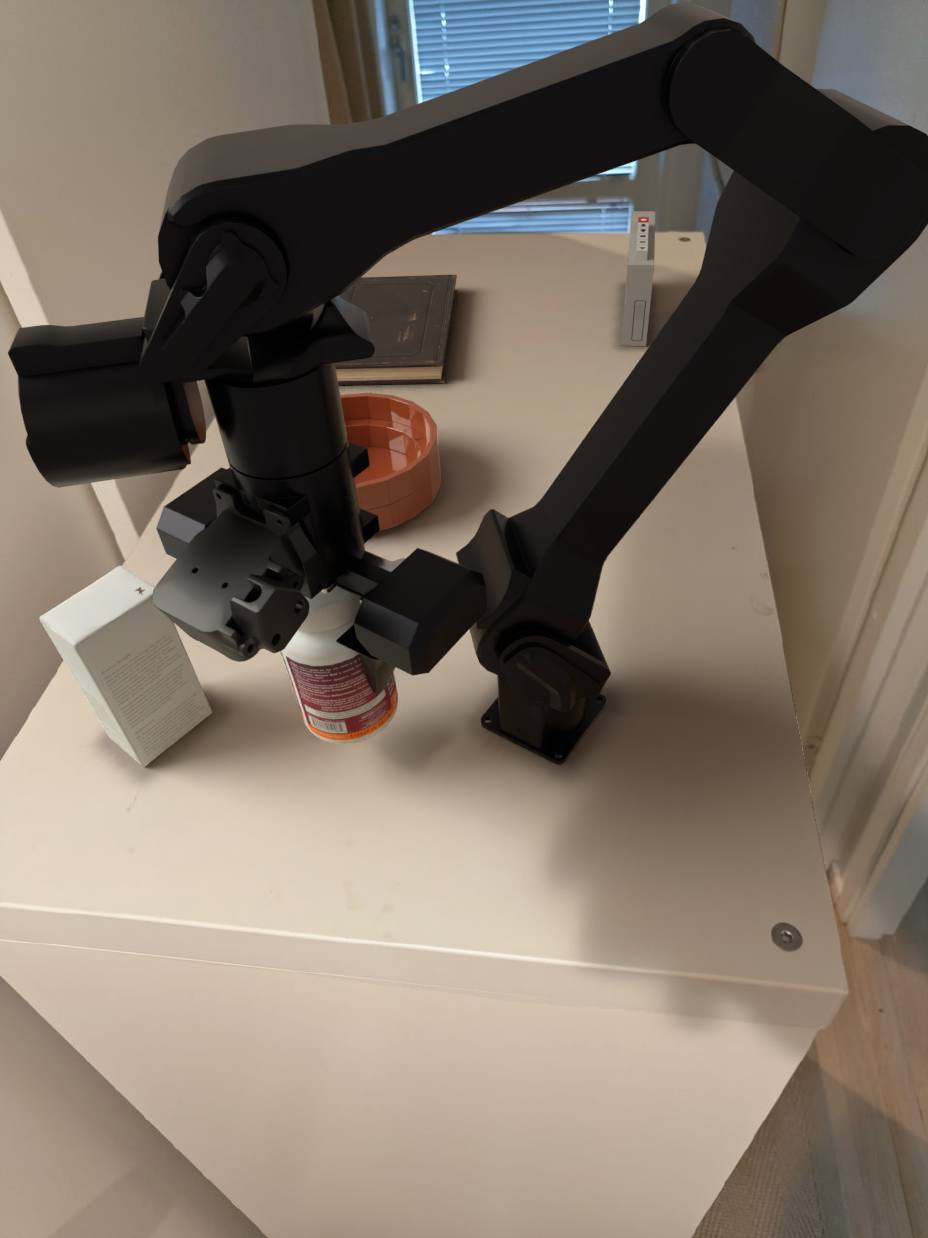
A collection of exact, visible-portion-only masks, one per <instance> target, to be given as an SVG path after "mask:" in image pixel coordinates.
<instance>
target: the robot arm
mask: <svg viewBox="0 0 928 1238" xmlns="http://www.w3.org/2000/svg"><path fill="white" fill-rule="evenodd" d="M685 145H696V146H698V147H700V148H702V149H703V150H704V151H706V152H707V153H709V154H710V155H711V156H713V157H714V158H716V160H719V161H720V162H721V163H723V164H724V165H726V166H727V167H728V168H729V169H731V170H732V173H731V175H730V176H729V179H728V181H727V182H726V184H725V187H724V188H723V191H722V193H721V195H720V196H719V198H718V200H717V203H716V206H715V209H714V214H713V217H712V221H711V226H710V229H709V234H708V239H707V243H706V247H705V250H704V256H703V259H702V262H701V263H702V264H701V267H700V269H699V273H698V275H697V277H696V279H695V280H694V282H693V283H692V285H691V287H690V288H689V290H688V291H687V292H686V293H685V295H684V296H683V298H682V300H681V301H680V302H679V304H678V305H677V306H676V308H675V309H674V311H673V312H672V314H671V315H670V316H669V318H668V319H667V320H666V322H665V324H664V325H663V326H662V328H661V329H660V331H659V332H658V333H657V334H656V336H655V337H654V339H653V341H652V342H651V343H650V345H649V346H648V348H647V349H646V350H645V352H644V353H643V355H642V356H641V358H639V360H638V361H637V363H636V364H635V366H634V367H633V369H632V370H631V372H630V373H629V374H628V375H627V377H626V379H625V381H623V383H622V384H621V385H620V387H619V389H618V390H617V391H616V393H615V394H614V396H613V397H612V398H611V400H610V401H609V402H608V404H607V405H606V407H605V408H604V410H603V411H602V412H601V414H599V417H598V418H597V420H596V421H595V422H594V424H593V425H592V427H591V428H590V429H589V431H588V432H587V434H586V435H585V436H584V438H583V439H582V441H581V442H580V444H579V445H578V446H577V448H576V449H575V451H574V452H573V454H572V455H571V456H570V458H569V459H568V461H567V462H566V463H565V464H564V466H563V468H562V469H561V470H560V472H559V473H558V475H557V476H556V477H555V478H554V480H553V482H552V483H551V485H550V486H549V487H548V489H547V490H546V491H545V493H544V494H543V495H542V497H541V498H540V499H539V500H538V502H537V503H536V504H535V505H534V506H531V507H529V508H527V509H525V510H523V511H520V512H517V513H516V514H513V515H511V516H509V517H508V516H506V515H505V514H503V513H501V512H500V511H498V510H496V509H494V508H490V509H489V510H488V511H486V513H485V514H484V515H483V517H482V519H481V522H480V524H479V526H478V528H477V531H476V532H475V533H474V535H473V537H472V538H471V539H470V540H469V542H468V543H466V545H464V546H463V547H462V548H460V549H459V550H458V551H457V552H455V556H456V559H457V562H456V561H454V560H451V559H449V558H446V557H445V556H441V555H438V554H436V553H434V552H432V551H428V550H425V549H422V548H419V547H416V548H415V549H414V550H413V551H412V552H411V553H410V554H409V555H408V556H407V557H406V558H405V557H401V558H398V559H395V560H389V559H386V558H384V557H382V556H379V555H377V554H375V553H372V552H370V551H369V550H368V551H367V550H366V547H365V545H366V543H367V542H369V541H370V540H371V539H372V538H374V536H375V535H377V534H378V533H379V532H380V526H379V520H378V515H376V514H373V513H371V512H368V511H366V510H363V509H361V508H360V507H359V501H358V496H357V490H356V484H355V477H356V476H357V475H359V474H360V473H361V472H363V471H364V470H365V469H366V468H368V467H369V466H370V462H369V455H368V449H367V448H365V447H362V446H359V445H356V444H354V443H351V442H348V438H347V432H346V426H345V420H344V415H343V409H342V403H341V397H340V395H341V393H340V385H338V380H337V374H336V368H335V363H340V362H347V361H354V360H361V359H368V358H371V357H372V356H373V355H374V353H375V345H374V341H373V336H372V332H371V328H370V324H369V319H368V316H367V313H366V312H365V311H363V310H362V309H360V308H358V307H356V306H354V305H353V304H351V303H349V302H347V301H345V300H343V299H342V298H341V297H340V296H339V295H340V294H342V293H343V292H345V291H346V290H347V289H348V288H350V287H351V286H352V285H353V284H354V283H355V282H356V281H357V280H359V279H360V278H362V277H363V276H364V275H366V274H367V273H368V272H369V271H370V270H371V269H372V268H374V267H375V266H376V265H377V264H379V262H380V261H382V260H383V259H384V258H385V257H386V256H388V255H389V254H391V253H393V252H395V251H397V250H398V249H400V248H401V247H404V246H405V245H407V244H409V243H410V242H412V241H414V240H418V239H419V238H422V237H425V236H428V235H431V234H434V233H437V232H439V231H442V230H445V229H448V228H451V227H454V226H456V225H459V224H462V223H465V222H469V221H471V220H473V219H476V218H480V217H481V216H484V215H488V214H490V213H493V212H497V211H498V210H501V209H504V208H508V207H511V206H512V205H516V204H518V203H521V202H524V201H527V200H530V199H533V198H535V197H538V196H541V195H544V194H546V193H549V192H552V191H555V190H558V189H561V188H563V187H567V186H569V185H572V184H575V183H578V182H580V181H583V180H586V179H588V178H589V179H590V178H592V177H595V176H598V175H600V174H603V173H606V172H609V171H612V170H616V168H620V167H623V166H625V165H629V164H631V163H634V162H637V161H639V160H642V159H643V160H644V159H645V158H648V157H651V156H654V155H656V154H657V155H658V154H659V153H662V152H665V151H669V150H671V149H673V148H677V147H679V146H685ZM176 163H177V164H176V166H175V167H174V168H173V172H172V174H171V177H170V181H169V184H168V188H167V191H166V196H165V200H164V206H163V210H162V215H161V219H160V224H159V229H158V234H157V251H158V252H157V255H158V264H159V266H160V269H161V271H160V274H159V275H158V279H152V280H151V282H150V286H149V290H148V295H147V301H146V306H145V310H144V315H143V316H139V317H131V318H124V319H123V318H122V319H117V320H108V321H101V322H100V321H99V322H92V323H87V324H86V323H84V324H77V325H56V324H40V325H32V326H31V325H30V326H23V327H19V328H18V329H17V331H16V333H15V335H14V337H13V340H12V342H11V344H10V347H9V348H8V351H7V355H8V357H9V360H10V361H11V364H12V366H13V368H14V370H15V373H16V375H17V391H18V392H17V394H18V400H19V408H20V413H21V417H22V421H23V424H24V425H23V426H24V429H25V431H26V434H27V435H26V438H25V446H26V449H27V451H28V454H29V457H30V458H31V460H32V462H33V464H34V466H35V468H36V469H37V471H38V473H39V474H40V475H41V476H42V478H43V479H44V481H45V482H47V483H48V484H49V485H51V486H52V487H54V488H65V487H73V486H78V485H84V484H85V485H86V484H92V483H93V484H94V483H98V482H99V483H100V482H107V481H113V480H119V479H126V478H134V477H141V476H146V475H147V476H148V475H154V474H161V473H167V472H174V471H181V470H185V469H186V468H187V466H189V465H191V464H192V459H191V458H192V457H191V452H190V448H189V444H190V445H192V446H195V445H202V444H203V445H204V444H205V443H206V442H207V426H206V425H207V424H206V417H205V411H204V406H203V405H204V404H203V400H202V397H201V396H202V395H201V391H200V388H199V385H198V382H199V381H204V383H205V387H206V391H207V395H208V397H209V401H210V404H211V408H212V411H213V415H214V418H215V421H216V424H217V427H218V431H219V434H220V438H221V441H222V445H223V448H224V452H225V456H226V458H227V462H228V465H229V468H225V467H223V466H222V467H219V468H218V469H217V470H215V471H214V472H212V473H210V475H207V477H205V478H203V479H202V480H200V481H199V482H198V483H195V485H193V486H192V487H191V488H188V489H187V490H186V491H184V492H183V493H182V494H180V495H179V496H177V497H176V498H174V499H172V500H171V501H170V502H168V503H167V504H165V505H163V508H162V511H161V514H160V517H159V520H158V522H157V524H156V528H155V529H156V532H157V534H158V537H159V539H160V542H161V544H162V547H163V550H164V552H165V554H166V555H167V556H170V557H172V558H174V559H175V561H174V562H173V563H172V564H171V566H170V567H169V568H168V569H167V571H166V572H165V573H164V574H163V576H162V577H161V579H159V581H158V582H157V583H156V585H155V586H154V587H155V588H154V590H153V594H152V601H153V604H154V605H155V607H156V608H158V609H159V610H160V611H161V612H162V613H163V614H164V615H166V616H167V617H168V618H169V619H170V620H171V621H173V622H174V624H175V626H176V627H178V628H179V629H181V631H183V632H184V633H185V634H186V635H187V636H189V637H190V638H191V639H193V640H195V641H198V642H199V643H200V644H201V643H202V644H204V645H205V646H207V647H209V648H210V649H212V650H214V651H216V652H218V653H220V654H221V655H223V656H224V657H226V658H228V659H229V660H231V661H233V662H236V663H237V662H239V663H241V662H246V661H249V660H251V659H253V658H254V657H255V656H257V654H258V653H259V652H260V651H261V650H266V651H268V652H270V653H272V654H277V653H280V651H282V650H283V649H285V648H286V646H287V645H288V643H289V642H290V641H291V639H292V638H293V636H294V635H295V633H296V632H297V631H298V629H299V628H300V626H301V625H302V623H303V622H304V621H305V619H306V618H307V616H308V614H309V601H308V600H307V599H306V598H305V597H307V598H310V599H313V598H314V597H315V596H316V595H317V594H318V593H319V592H322V593H329V592H331V591H332V590H333V589H334V588H335V587H336V586H337V587H340V588H342V589H344V590H346V591H348V592H351V593H353V594H355V595H357V596H359V597H361V598H360V599H359V600H360V607H359V610H358V613H357V615H356V618H355V621H354V624H353V625H352V626H351V627H350V628H349V629H348V630H347V631H346V632H345V633H344V634H342V635H341V636H340V637H339V638H338V639H337V640H336V642H337V643H339V644H341V645H343V646H345V647H347V648H349V649H351V650H353V651H355V652H357V653H359V655H360V658H361V662H362V665H363V668H364V672H365V675H366V678H367V681H368V683H369V685H370V688H371V690H372V692H374V693H376V694H379V693H380V692H381V691H382V690H383V689H384V688H385V687H386V686H387V685H388V683H389V681H390V679H391V677H392V674H393V672H395V670H396V668H397V669H398V670H400V671H403V672H405V673H406V674H408V675H410V676H418V675H424V674H429V673H430V672H431V671H432V670H433V669H434V668H435V667H436V666H437V665H438V664H439V663H440V661H441V660H442V659H443V658H444V657H445V656H447V654H448V653H449V652H450V651H451V650H452V649H453V647H455V645H456V644H457V643H458V642H459V641H460V640H461V639H462V638H463V637H464V636H465V635H466V633H468V631H469V634H470V638H471V642H472V645H473V648H474V652H475V655H476V658H477V660H478V663H479V664H480V665H481V666H482V667H483V668H484V669H485V670H486V671H487V672H490V673H492V674H493V675H496V676H497V697H496V698H495V700H493V702H492V703H491V705H490V706H489V707H488V708H487V709H486V710H485V712H484V713H483V714H482V715H481V717H480V726H481V728H482V729H484V730H486V731H489V732H491V733H492V734H494V735H497V737H500V738H502V739H504V740H506V741H509V742H510V743H512V744H514V745H517V746H518V747H520V748H522V749H524V750H526V751H528V752H530V753H532V754H534V755H536V756H538V757H540V758H542V759H544V760H546V761H548V762H550V763H552V764H554V765H557V766H562V765H564V764H565V763H566V762H567V760H568V759H569V758H570V757H571V755H572V754H573V752H574V751H575V750H576V748H577V746H578V745H579V744H580V742H581V741H582V740H583V738H584V737H585V735H586V734H587V733H588V731H589V730H590V729H591V727H592V726H593V724H594V723H595V721H596V720H597V719H598V718H599V716H600V715H601V713H602V712H603V710H604V709H605V707H606V705H607V697H606V696H605V695H604V694H603V693H601V692H602V691H603V688H604V687H605V685H606V684H607V682H608V680H609V678H610V676H611V675H612V672H611V669H610V667H609V665H608V662H607V660H606V658H605V655H604V653H603V650H602V648H601V646H600V643H599V641H598V639H597V636H596V633H595V631H594V629H593V627H592V625H591V621H590V619H591V617H592V614H593V609H594V605H595V601H596V596H597V593H598V588H599V585H600V579H601V576H602V572H603V567H604V565H605V562H606V561H607V559H608V557H609V556H610V555H611V554H612V552H613V551H614V549H616V547H617V546H618V544H620V542H621V541H622V539H624V537H625V536H626V534H628V532H629V531H630V529H631V528H632V527H634V525H635V523H636V522H637V521H638V519H640V517H641V516H642V515H643V513H644V512H645V511H646V510H647V509H648V507H649V506H650V505H651V503H652V502H653V501H654V500H655V498H656V497H657V496H658V495H659V493H660V492H661V491H662V490H663V488H664V487H665V486H666V485H667V483H668V482H669V481H670V480H671V479H672V477H673V476H674V475H675V473H676V472H677V471H678V470H679V468H680V467H681V466H682V465H683V464H684V462H685V461H686V460H687V459H688V457H689V456H690V455H691V453H692V452H693V451H694V450H695V449H696V447H697V446H698V445H699V444H700V442H701V441H702V440H703V439H704V437H705V436H706V435H707V433H708V432H709V431H710V430H711V429H712V427H713V426H714V425H715V423H716V422H717V421H718V420H719V418H721V416H722V415H723V414H724V412H725V411H726V410H727V408H729V406H730V405H731V404H732V402H733V401H734V400H735V398H737V397H738V395H739V394H740V392H741V391H742V390H743V389H744V388H745V386H746V385H747V384H748V382H750V380H751V379H752V378H753V376H754V375H755V374H756V372H757V371H758V370H759V369H760V368H761V366H762V365H764V362H765V361H766V360H767V359H768V358H769V356H770V355H771V354H772V353H773V351H774V350H775V349H776V348H777V346H778V345H779V344H780V343H781V342H782V341H783V340H785V339H786V338H787V337H789V335H792V334H793V333H796V332H798V331H800V330H802V329H803V328H804V329H805V327H807V326H811V325H812V324H814V323H816V322H817V321H820V320H822V319H823V318H826V317H828V316H830V315H832V314H834V313H836V312H838V311H840V310H842V309H844V308H846V307H848V306H849V305H851V304H852V303H854V302H855V301H856V300H857V299H858V298H859V297H860V296H861V295H862V294H863V293H865V291H866V290H868V288H869V287H870V286H871V285H873V284H874V283H875V282H876V281H877V280H878V279H879V278H880V277H881V276H882V275H883V274H884V273H886V271H888V270H889V268H891V266H893V264H895V263H896V262H897V261H898V260H899V259H901V257H902V256H903V255H904V254H905V253H906V252H907V251H908V250H909V249H910V248H911V247H912V246H913V245H914V244H915V242H917V241H918V240H919V238H920V237H921V235H922V234H923V232H924V231H925V229H926V228H927V227H928V134H927V133H926V132H924V131H922V130H920V129H918V128H916V127H913V126H911V125H910V124H908V123H905V122H903V121H902V120H900V119H897V118H895V117H893V116H891V115H889V114H887V113H885V112H883V111H880V110H879V109H876V108H874V107H872V106H871V105H868V104H866V103H864V102H862V101H860V100H858V99H856V98H853V97H852V96H849V95H847V94H845V93H844V92H841V91H839V90H837V89H835V88H815V87H814V86H813V85H811V84H810V83H809V82H807V81H805V80H804V79H803V78H802V77H800V76H799V75H797V74H796V73H794V72H793V71H792V70H790V69H789V68H788V67H786V66H785V65H783V64H782V63H780V62H779V60H777V59H776V58H775V57H773V56H772V55H771V54H769V52H767V51H766V50H765V49H763V48H762V47H761V46H759V44H757V43H756V40H755V37H754V35H753V34H752V33H751V32H750V31H749V30H748V29H747V28H746V27H745V26H744V25H743V24H742V23H741V22H739V21H737V20H734V19H732V18H729V17H727V16H725V15H723V14H720V13H718V12H716V11H714V10H712V9H709V8H708V7H705V6H702V5H699V4H695V3H693V2H690V1H683V2H677V3H669V4H668V5H666V6H664V7H662V8H660V9H659V10H657V11H656V12H655V13H653V14H652V15H650V16H649V17H648V18H646V19H644V20H643V21H641V22H639V23H636V24H634V25H631V26H628V27H626V28H622V29H620V30H618V31H615V32H611V33H609V34H606V35H603V36H601V37H598V38H594V39H593V40H590V41H587V42H585V43H582V44H579V45H576V46H573V47H571V48H568V49H564V50H562V51H559V52H556V53H553V54H551V55H549V56H545V57H543V58H540V59H538V60H534V61H532V62H530V63H526V64H524V65H521V66H518V67H516V68H513V69H510V70H507V71H504V72H502V73H499V74H495V75H494V76H491V77H488V78H485V79H481V80H480V81H476V82H474V83H472V84H469V85H466V86H463V87H460V88H458V89H455V90H452V91H449V92H446V93H444V94H441V95H438V96H436V97H433V98H430V99H428V100H425V101H424V100H423V101H422V102H419V103H416V104H414V105H410V106H408V107H405V108H402V109H400V110H396V111H394V112H392V113H389V114H386V115H383V116H381V117H378V118H375V119H370V120H364V121H363V120H362V121H357V122H356V121H355V122H350V123H341V124H329V123H327V124H324V123H323V124H321V123H320V124H315V123H313V124H301V123H300V124H297V123H296V124H294V123H293V124H284V125H279V126H271V127H265V128H258V129H252V130H245V131H244V130H243V131H239V132H232V133H225V134H219V135H215V136H210V137H207V138H205V139H204V140H202V141H200V142H199V143H197V144H195V145H194V146H192V147H190V148H188V149H187V150H186V152H184V154H183V155H182V156H181V157H180V158H179V159H178V161H177V162H176ZM304 596H305V597H304ZM487 721H489V722H487ZM558 756H560V757H558Z"/></svg>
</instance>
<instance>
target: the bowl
mask: <svg viewBox="0 0 928 1238" xmlns="http://www.w3.org/2000/svg"><path fill="white" fill-rule="evenodd" d="M340 397H341V403H342V409H343V415H344V420H345V426H346V432H347V438H348V442H351V443H354V444H356V445H359V446H362V447H365V448H367V449H368V455H369V462H370V466H369V467H368V468H366V469H365V470H364V471H363V472H361V473H360V474H359V475H357V476H356V477H355V484H356V490H357V496H358V501H359V507H360V508H361V509H363V510H366V511H368V512H371V513H373V514H376V515H378V520H379V526H380V531H384V530H389V529H392V528H395V527H397V526H399V525H401V524H403V523H405V522H407V521H409V520H411V519H413V518H415V517H416V516H418V515H419V514H420V513H421V512H423V510H425V509H426V508H427V507H428V506H429V505H430V504H431V503H433V502H434V500H435V498H436V496H437V494H438V492H439V490H440V488H441V486H442V471H441V470H442V469H441V457H440V448H439V447H440V446H439V436H438V426H437V423H436V421H435V420H434V419H433V417H432V415H431V414H430V412H429V411H428V410H426V409H425V408H423V407H422V406H421V405H419V404H417V403H416V402H414V401H412V400H409V399H405V398H403V397H399V396H396V395H393V394H383V393H376V392H375V393H374V392H360V393H345V394H344V393H343V394H340ZM380 531H379V532H380Z"/></svg>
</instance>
